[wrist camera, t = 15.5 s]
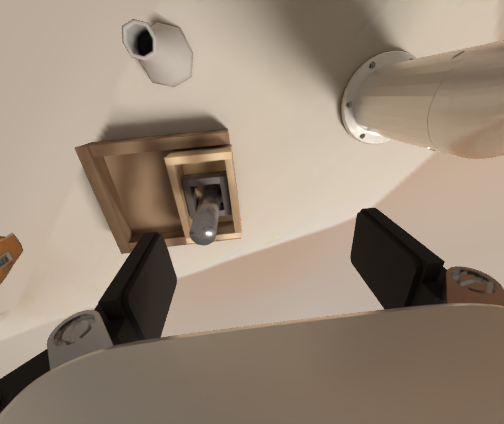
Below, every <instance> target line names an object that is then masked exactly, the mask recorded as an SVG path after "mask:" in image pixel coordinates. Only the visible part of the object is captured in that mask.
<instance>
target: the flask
mask: <svg viewBox="0 0 504 424" xmlns="http://www.w3.org/2000/svg"><path fill="white" fill-rule="evenodd" d="M122 39H123V44H124V46H125V47H126V48H127V51H128V52H129V54H130V55H131V57H132V58H136V59H139V61H140V62H141V64H142V66H143V67H144V69H145V71H146V72H147V74H148V76H149V77H150V79H151V81H152V82H153V83H157V84H162V85H166V86H171V87H175V86H177V85H179V84H180V83H182V82H184V81H185V80H187V79H189V78H191V74H192V59H193V52H192V50H191V48H190V46H189V44H188V42H187V40H186V38H185V36H184V34H183V32H182V30H181V28H178V27H174V26H170V25H166V24H162V23H159V22H157V23H155V24H154V25H152V26H151V27H150V25H149V24H148V23H147V22H143V21H139V20H135V19H132V20H131V21H129V22H128V23H126V24H125V25H123V26H122Z"/></svg>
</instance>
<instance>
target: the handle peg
mask: <svg viewBox="0 0 504 424" xmlns="http://www.w3.org/2000/svg"><path fill="white" fill-rule="evenodd" d="M221 195H222V191H221V187H220V186H219V185H218V184H209V185H206V186H205V187H204V190H203V193H202V196H201V199H200V202H199V205H198V208H197V211H196V214H195V217H194V220H193V223H192V226H191V229H190V232H189V235H190V238H191V240H192V241H193V242H195V243H196V244H199V245H208V244H210V243H212V242H213V241H214V240H215V238H216V232H217V225H218V217H219V210H220V202H221Z"/></svg>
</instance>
